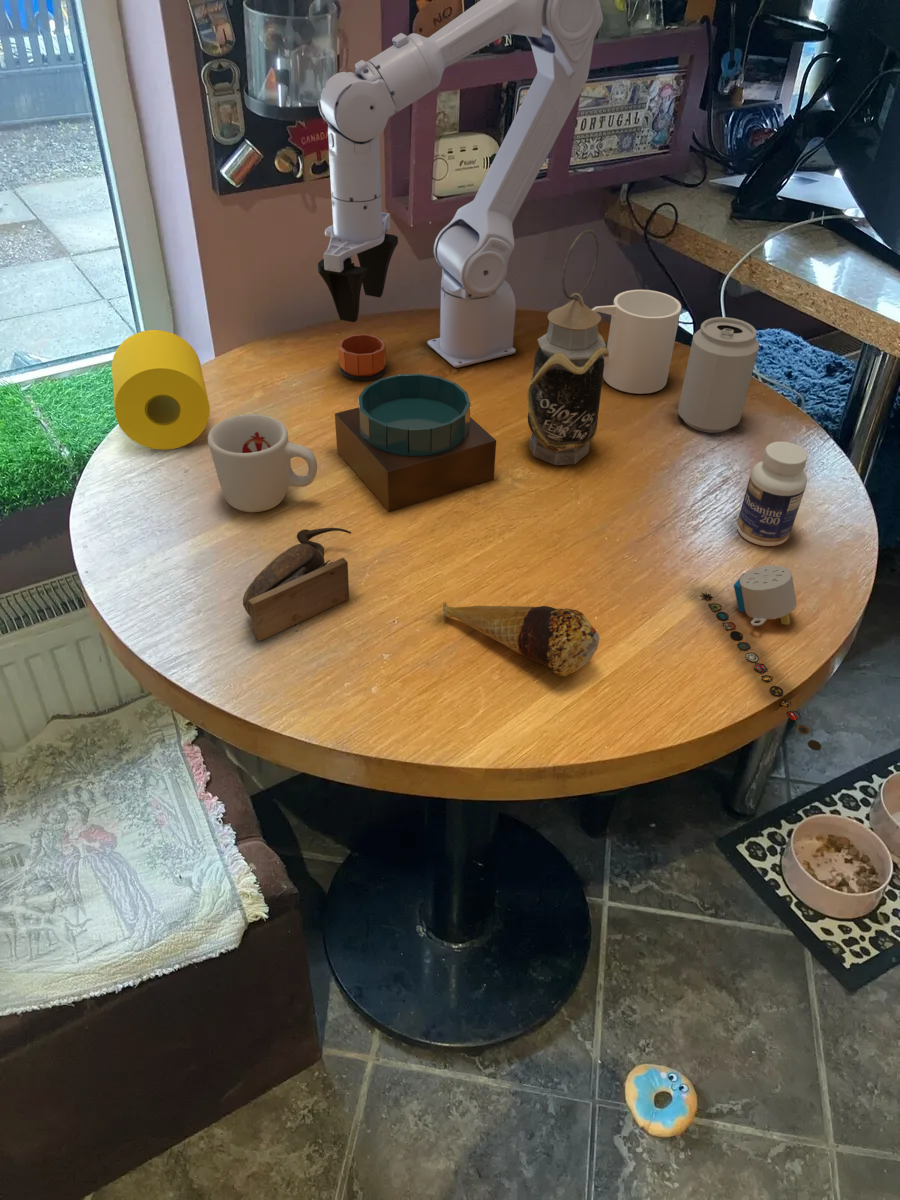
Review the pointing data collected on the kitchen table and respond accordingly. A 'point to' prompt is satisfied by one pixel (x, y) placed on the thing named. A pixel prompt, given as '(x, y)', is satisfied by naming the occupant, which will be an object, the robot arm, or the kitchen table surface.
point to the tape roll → (159, 390)
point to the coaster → (367, 378)
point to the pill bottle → (773, 495)
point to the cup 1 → (256, 461)
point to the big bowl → (414, 414)
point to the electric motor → (766, 594)
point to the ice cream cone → (535, 633)
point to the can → (718, 374)
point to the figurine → (296, 586)
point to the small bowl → (362, 355)
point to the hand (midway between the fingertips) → (361, 307)
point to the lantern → (567, 380)
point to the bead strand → (761, 670)
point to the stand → (415, 464)
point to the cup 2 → (640, 340)
